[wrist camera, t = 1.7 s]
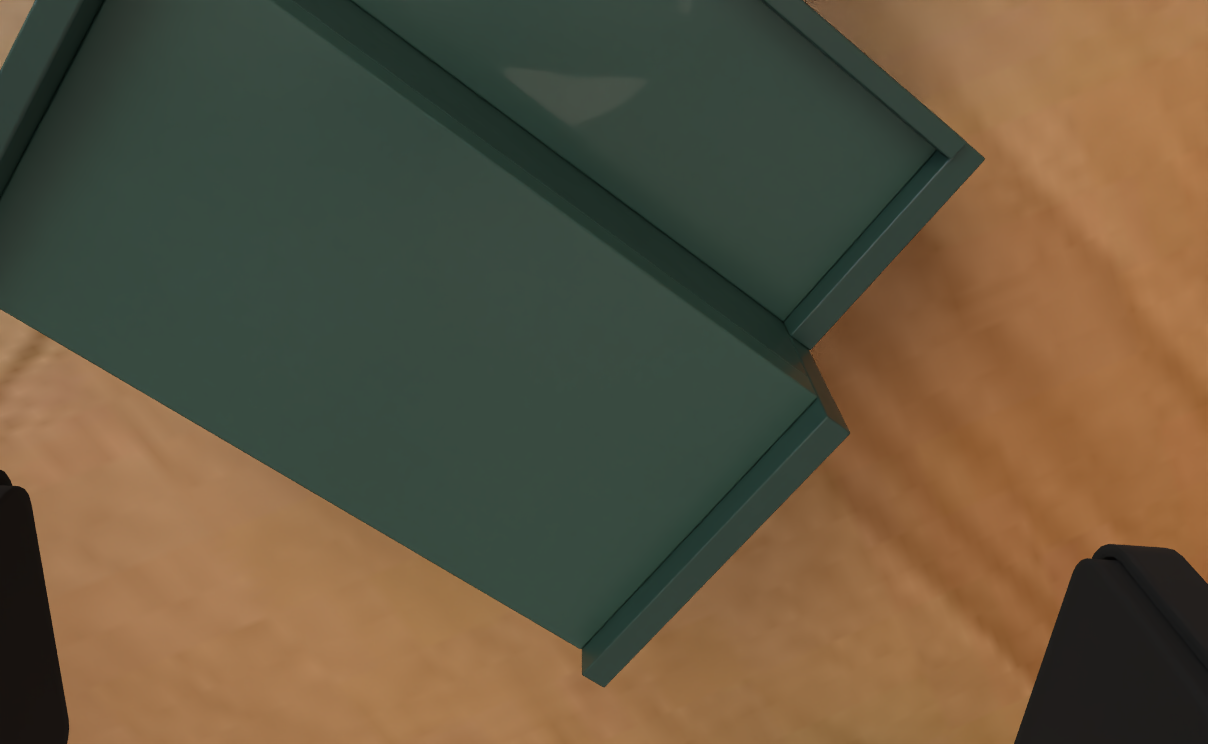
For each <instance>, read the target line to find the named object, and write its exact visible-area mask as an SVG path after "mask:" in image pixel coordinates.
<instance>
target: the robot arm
mask: <svg viewBox="0 0 1208 744" xmlns="http://www.w3.org/2000/svg"><path fill="white" fill-rule="evenodd" d="M68 734H69V719H68V713H67V707H66V701H65V696H64V690H63V684H62V678H61V673H60V667H59V661H58V655H57V649H56V644H55V638H54V632H53V626H52V620H51V615H50V609H49V603H48V597H47V591H46V586H45V580H44V574H43V568H42V563H41V557H40V551H39V545H38V539H37V534H36V528H35V522H34V516H33V510H32V505H31V501H30V497H29V495H28V493H27V492H26V490H25V489H23V488H22V487H20V486H12V484H11V480H10V479H9V477H8V476H7V474H6V473H5V472H4V471H2V470H0V744H67V741H68ZM1014 744H1208V584H1207V583H1206V582H1205V581H1204V579H1203V578H1202V577H1201V576H1200V575H1199V574H1198V573H1197V572H1196V571H1195V570H1194V568H1193V567H1192V566H1191V565H1190V564H1189V563H1188V562H1187V561H1186V560H1185V559H1184V557H1183V556H1181V555H1180V554H1179V553H1178V552H1176V551H1175V550H1172V549H1168V548H1159V547H1145V546H1130V545H1116V544H1107V545H1104V546H1102V547H1100V548H1099V549H1098V550H1097V551H1096V552H1095V553H1094V555H1093V557H1092V559H1088V558H1087V559H1084V560H1081V561H1080V562H1079V563H1078V564H1077V565H1076V567H1075V569H1074V571H1073V574H1072V576H1071V579H1070V582H1069V585H1068V588H1067V591H1066V594H1065V597H1064V600H1063V603H1062V606H1061V609H1060V611H1059V614H1058V617H1057V620H1056V623H1055V626H1054V629H1053V632H1052V635H1051V638H1050V641H1049V644H1048V646H1047V649H1046V652H1045V655H1044V658H1043V661H1042V664H1041V667H1040V670H1039V673H1038V676H1037V679H1036V681H1035V684H1034V687H1033V690H1032V693H1031V696H1030V699H1029V702H1028V705H1027V708H1026V711H1025V714H1024V716H1023V719H1022V722H1021V725H1020V728H1019V731H1018V734H1017V737H1016V740H1015V743H1014Z"/></svg>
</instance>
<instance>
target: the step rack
mask: <svg viewBox="0 0 1208 744" xmlns="http://www.w3.org/2000/svg"><path fill="white" fill-rule="evenodd" d="M984 160H985V158H984V157H983V156H982V155H981V154H980V153H978V152H977V151H976V150H975V149H974V148H973V147H971V146H970V145H969V144H968V143H967V142H966V141H965V140H964V139H963V138H962V137H961V136H959V135H958V134H957V133H956V132H955V131H954V130H952V129H951V128H950V127H949V126H948V125H947V124H945V123H944V122H943V121H942V120H941V119H940V118H939V117H937V116H936V115H935V114H934V113H933V112H932V111H930V110H929V109H928V108H927V107H926V106H925V105H923V104H922V103H921V102H920V101H919V100H918V99H917V98H915V97H914V96H913V95H912V94H911V93H910V92H908V91H907V90H906V89H905V88H904V87H903V86H901V85H900V84H899V83H898V82H897V81H896V80H894V79H893V78H892V77H891V76H890V75H889V74H888V73H886V72H885V71H884V70H883V69H882V68H881V67H879V66H878V65H877V64H876V63H875V62H874V61H872V60H871V59H870V58H869V57H868V56H867V55H865V54H864V53H863V52H862V51H861V50H860V49H859V48H857V47H856V46H855V45H854V44H853V43H852V42H850V41H849V40H848V39H847V38H846V37H845V36H843V35H842V34H841V33H840V32H839V31H838V30H837V29H835V28H834V27H833V26H832V25H831V24H830V23H828V22H827V21H826V20H825V19H824V18H823V17H821V16H820V15H819V14H818V13H817V12H816V11H814V10H813V9H812V8H811V7H810V6H809V5H808V4H806V3H805V2H804V1H803V0H35V2H34V4H33V6H32V8H31V10H30V12H29V14H28V16H27V18H26V20H25V22H24V24H23V26H22V28H21V30H20V32H19V34H18V36H17V38H16V40H15V42H14V44H13V46H12V48H11V50H10V52H9V54H8V56H7V58H6V60H5V62H4V64H3V66H2V68H1V70H0V309H1V310H3V311H4V312H6V313H8V314H10V315H11V316H13V317H15V318H16V319H18V320H20V321H22V322H23V323H25V324H27V325H28V326H30V327H32V328H33V329H35V330H37V331H39V332H40V333H42V334H44V335H45V336H47V337H49V338H51V339H52V340H54V341H56V342H57V343H59V344H61V345H62V346H64V347H66V348H68V349H69V350H71V351H73V352H74V353H76V354H78V355H80V356H81V357H83V358H85V359H86V360H88V361H90V362H91V363H93V364H95V365H97V366H98V367H100V368H102V369H103V370H105V371H107V372H108V373H110V374H112V375H114V376H115V377H117V378H119V379H120V380H122V381H124V382H126V383H127V384H129V385H131V386H132V387H134V388H136V389H137V390H139V391H141V392H143V393H144V394H146V395H148V396H149V397H151V398H153V399H155V400H156V401H158V402H160V403H161V404H163V405H165V406H166V407H168V408H170V409H172V410H173V411H175V412H177V413H178V414H180V415H182V416H184V417H185V418H187V419H189V420H190V421H192V422H194V423H195V424H197V425H199V426H201V427H202V428H204V429H206V430H207V431H209V432H211V433H212V434H214V435H216V436H218V437H219V438H221V439H223V440H224V441H226V442H228V443H230V444H231V445H233V446H235V447H236V448H238V449H240V450H241V451H243V452H245V453H247V454H248V455H250V456H252V457H253V458H255V459H257V460H259V461H260V462H262V463H264V464H265V465H267V466H269V467H270V468H272V469H274V470H276V471H277V472H279V473H281V474H282V475H284V476H286V477H288V478H289V479H291V480H293V481H294V482H296V483H298V484H299V485H301V486H303V487H305V488H306V489H308V490H310V491H311V492H313V493H315V494H317V495H318V496H320V497H322V498H323V499H325V500H327V501H328V502H330V503H332V504H334V505H335V506H337V507H339V508H340V509H342V510H344V511H345V512H347V513H349V514H351V515H352V516H354V517H356V518H357V519H359V520H361V521H363V522H364V523H366V524H368V525H369V526H371V527H373V528H374V529H376V530H378V531H380V532H381V533H383V534H385V535H386V536H388V537H390V538H392V539H393V540H395V541H397V542H398V543H400V544H402V545H403V546H405V547H407V548H409V549H410V550H412V551H414V552H415V553H417V554H419V555H421V556H422V557H424V558H426V559H427V560H429V561H431V562H432V563H434V564H436V565H438V566H439V567H441V568H443V569H444V570H446V571H448V572H449V573H451V574H453V575H455V576H456V577H458V578H460V579H461V580H463V581H465V582H467V583H468V584H470V585H472V586H473V587H475V588H477V589H478V590H480V591H482V592H484V593H485V594H487V595H489V596H490V597H492V598H494V599H496V600H497V601H499V602H501V603H502V604H504V605H506V606H507V607H509V608H511V609H513V610H514V611H516V612H518V613H519V614H521V615H523V616H525V617H526V618H528V619H530V620H531V621H533V622H535V623H536V624H538V625H540V626H542V627H543V628H545V629H547V630H548V631H550V632H552V633H554V634H555V635H557V636H559V637H560V638H562V639H564V640H565V641H567V642H569V643H571V644H572V645H574V646H576V647H577V648H579V649H582V675H583V676H585V677H587V678H588V679H590V680H592V681H593V682H595V683H597V684H599V685H600V686H602V687H605V686H606V685H607V684H608V683H609V682H610V681H611V680H612V679H613V678H614V677H615V676H616V675H617V674H618V673H619V672H620V671H621V670H622V669H623V668H624V667H625V666H626V665H627V664H628V663H629V661H630V660H631V659H632V658H633V657H634V656H635V655H636V654H637V653H638V652H639V651H640V650H641V649H642V648H643V647H644V646H645V645H646V644H647V643H648V642H649V641H650V640H651V639H652V638H653V637H654V636H655V635H656V634H657V633H658V632H659V630H660V629H661V628H662V627H663V626H664V625H665V624H666V623H667V622H668V621H669V620H670V619H671V618H672V617H673V616H674V615H675V614H676V613H677V612H678V611H679V610H680V609H681V608H682V607H683V606H684V605H685V604H686V603H687V602H688V601H689V600H690V598H691V597H692V596H693V595H694V594H695V593H696V592H697V591H698V590H699V589H700V588H701V587H702V586H703V585H704V584H705V583H706V582H707V581H708V580H709V579H710V578H711V577H712V576H713V575H714V574H715V573H716V572H717V571H718V570H719V569H720V567H721V566H722V565H723V564H724V563H725V562H726V561H727V560H728V559H729V558H730V557H731V556H732V555H733V554H734V553H735V552H736V551H737V550H738V549H739V548H740V547H741V546H742V545H743V544H744V543H745V542H746V541H747V540H748V539H749V538H750V537H751V535H752V534H753V533H754V532H755V531H756V530H757V529H758V528H759V527H760V526H761V525H762V524H763V523H764V522H765V521H766V520H767V519H768V518H769V517H770V516H771V515H772V514H773V513H774V512H775V511H776V510H777V509H778V508H779V507H780V506H781V505H782V503H783V502H784V501H785V500H786V499H787V498H788V497H789V496H790V495H791V494H792V493H793V492H794V491H795V490H796V489H797V488H798V487H799V486H800V485H801V484H802V483H803V482H804V481H805V480H806V479H807V478H808V477H809V476H810V475H811V474H812V472H813V471H814V470H815V469H816V468H817V467H818V466H819V465H820V464H821V463H822V462H823V461H824V460H825V459H826V458H827V457H828V456H829V455H830V454H831V453H832V452H833V451H834V450H835V449H836V448H837V447H838V446H839V445H840V444H841V443H842V442H843V440H844V439H845V438H846V437H847V436H848V435H849V434H850V431H849V429H848V427H847V425H846V423H845V421H844V419H843V417H842V415H841V413H840V411H839V409H838V407H837V405H836V403H835V401H834V399H833V397H832V395H831V393H830V391H829V389H828V387H827V385H826V383H825V381H824V379H823V377H822V375H821V373H820V371H819V369H818V367H817V365H816V363H815V361H814V359H813V357H812V355H811V353H810V351H809V350H811V349H812V348H813V347H814V346H815V345H816V343H817V342H818V341H819V340H820V339H821V338H822V337H823V336H824V335H825V334H826V333H827V331H828V330H829V329H830V328H831V327H832V326H833V325H834V324H835V323H836V322H837V321H838V319H839V318H840V317H841V316H842V315H843V314H844V313H845V312H846V311H847V310H848V309H849V307H850V306H851V305H852V304H853V303H854V302H855V301H856V300H857V299H858V298H859V297H860V295H861V294H862V293H863V292H864V291H865V290H866V289H867V288H868V287H869V286H870V285H871V283H872V282H873V281H874V280H875V279H876V278H877V277H878V276H879V275H880V274H881V272H882V271H883V270H884V269H885V268H886V267H887V266H888V265H889V264H890V263H891V262H892V260H893V259H894V258H895V257H896V256H897V255H898V254H899V253H900V252H901V251H902V250H903V248H904V247H905V246H906V245H907V244H908V243H909V242H910V241H911V240H912V239H913V238H914V236H915V235H916V234H917V233H918V232H919V231H920V230H921V229H922V228H923V227H924V226H925V224H926V223H927V222H928V221H929V220H930V219H931V218H932V217H933V216H934V215H935V214H936V212H937V211H938V210H939V209H940V208H941V207H942V206H943V205H944V204H945V203H946V202H947V200H948V199H949V198H950V197H951V196H952V195H953V194H954V193H955V192H956V191H957V189H958V188H959V187H960V186H961V185H962V184H963V183H964V182H965V181H966V180H967V179H968V177H969V176H970V175H971V174H972V173H973V172H974V171H975V170H976V169H977V168H978V167H979V165H980V164H981V163H982V162H983V161H984Z"/></svg>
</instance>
